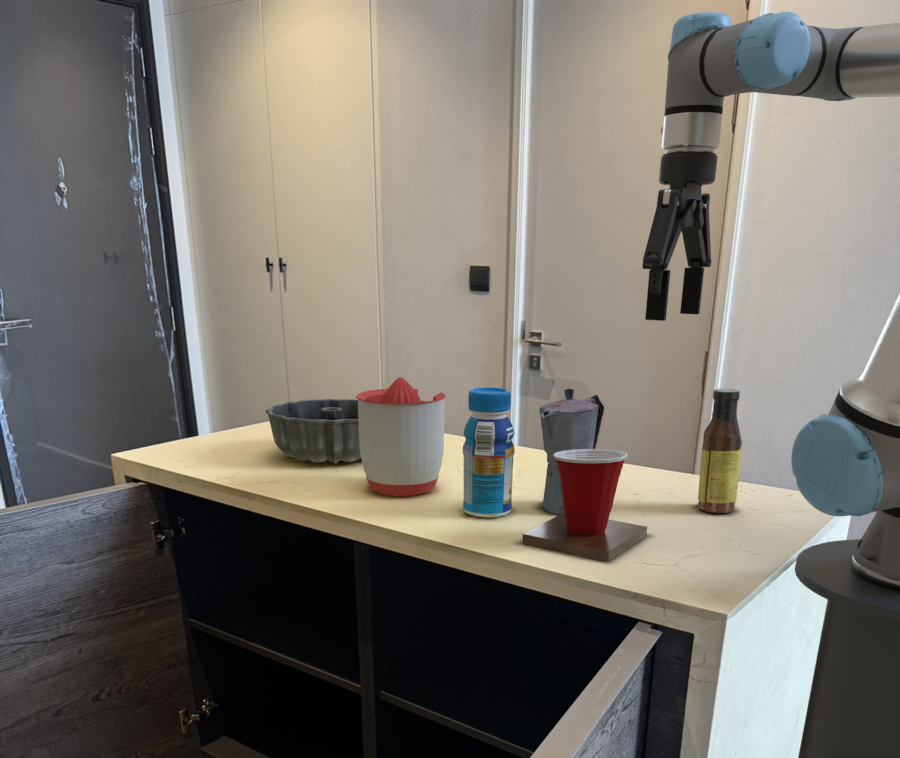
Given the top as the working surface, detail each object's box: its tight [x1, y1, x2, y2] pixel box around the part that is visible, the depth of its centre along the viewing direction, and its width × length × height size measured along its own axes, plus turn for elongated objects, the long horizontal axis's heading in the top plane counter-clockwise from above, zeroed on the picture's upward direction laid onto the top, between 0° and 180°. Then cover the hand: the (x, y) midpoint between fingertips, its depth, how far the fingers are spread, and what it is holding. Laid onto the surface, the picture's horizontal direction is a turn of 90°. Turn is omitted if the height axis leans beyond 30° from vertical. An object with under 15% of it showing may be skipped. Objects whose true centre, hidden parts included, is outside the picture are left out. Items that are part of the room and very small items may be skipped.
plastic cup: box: [553, 448, 629, 536], centre depth 128 cm, size 11×11×12 cm
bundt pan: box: [265, 398, 362, 465], centre depth 179 cm, size 26×26×10 cm
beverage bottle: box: [462, 386, 515, 519], centre depth 140 cm, size 8×8×20 cm
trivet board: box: [521, 512, 648, 562], centre depth 131 cm, size 14×14×2 cm
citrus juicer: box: [355, 376, 446, 498], centre depth 154 cm, size 16×17×20 cm
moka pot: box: [539, 388, 605, 515], centre depth 143 cm, size 10×15×20 cm, turn 137°
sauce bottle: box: [697, 388, 743, 514], centre depth 142 cm, size 7×6×20 cm
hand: (673, 317), depth 125 cm, fingers open, 13 cm apart
